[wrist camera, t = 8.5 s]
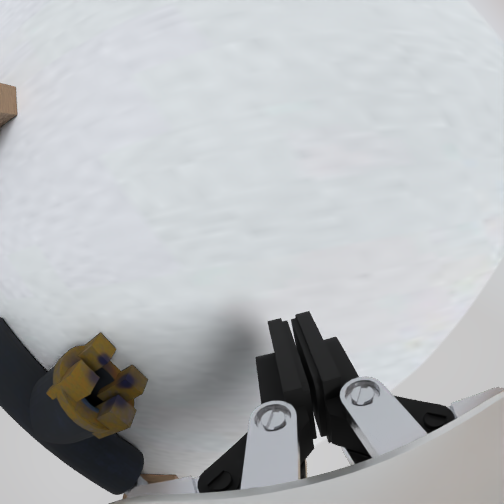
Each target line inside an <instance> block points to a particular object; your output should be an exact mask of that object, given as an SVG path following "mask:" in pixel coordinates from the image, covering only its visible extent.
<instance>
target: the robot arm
mask: <svg viewBox="0 0 504 504" xmlns="http://www.w3.org/2000/svg"><path fill="white" fill-rule="evenodd" d="M291 322H292V327H293V332H294V338H295V342H294V339H293V336H292V333H291V330H290V327H289V324H288V322H287V321H283V322H282V320H281V318H280V319H276V320H272V321H268V325H269V330H270V334H271V339H272V343H273V348H274V352H275V353H272V354H267V355H263V356H258V357H256V365H257V373H258V381H259V389H260V396H261V405H259V406H258V407H257V408H256V409H254V411H253V412H252V413H251V416H250V419H249V426H248V432H247V433H246V434H245V435H244V436H243V437H242V438H241V439H240V440H239V441H238V442H237V443H236V444H235V445H233V446H232V447H231V448H230V449H229V450H228V451H227V452H226V453H225V454H224V455H222V456H221V457H220V458H219V459H218V460H217V461H216V462H214V463H213V464H212V465H211V466H210V467H209V468H207V469H206V470H205V471H204V472H203V473H202V474H201V475H200V476H199V477H195V478H192V476H188V477H184V478H179V479H174V480H169V481H164V482H159V483H153V484H146V485H141V486H137V487H135V488H134V489H132V490H131V491H130V492H129V494H128V495H127V499H122V500H119V501H115V502H112V503H109V504H504V388H499V387H497V388H492V389H490V390H487V391H484V392H482V393H479V394H476V395H474V396H471V397H468V398H465V399H462V400H459V401H456V402H453V403H451V406H449V407H446V406H442V405H439V404H433V403H428V402H422V401H417V400H412V399H407V398H402V397H397V396H393V395H392V394H391V392H390V391H389V390H388V389H387V388H386V387H385V386H384V385H383V384H382V383H381V382H380V381H379V380H377V379H375V378H372V377H359V376H358V374H357V373H356V371H355V369H354V367H353V365H352V364H351V362H350V360H349V358H348V356H347V355H346V353H345V351H344V349H343V347H342V346H341V344H340V342H339V340H338V339H337V337H333V338H330V339H326V340H323V338H322V336H321V334H320V332H319V330H318V328H317V326H316V324H315V322H314V320H313V318H312V316H311V314H310V312H309V311H308V312H304V313H300V314H296V318H295V319H291ZM295 343H296V345H295ZM313 413H314V415H313ZM314 416H315V419H316V422H317V425H318V429H319V432H320V435H321V437H323V436H327V439H328V442H329V443H330V442H332V443H333V444H335V445H338V446H341V447H342V451H343V453H344V454H345V456H346V458H347V459H348V461H349V463H350V464H351V466H348V467H345V468H342V469H339V470H335V471H332V472H328V473H324V474H321V475H317V476H313V477H309V478H307V462H306V458H307V456H308V455H309V454H310V453H311V451H312V450H313V449H314V445H313V439H316V438H317V436H316V429H315V422H314Z"/></svg>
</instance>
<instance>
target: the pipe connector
mask: <svg viewBox="0 0 504 504" xmlns="http://www.w3.org/2000/svg"><path fill="white" fill-rule="evenodd" d="M115 351H116V348H115V347H114V346H113V345H112V344H111V343H110V342H109V341H108V340H107V339H106V338H105V337H104V336H103V335H102V333H99V334H98V335H97V336H96V337H94V338H93V339H92V340H91V341H90V342H88V343H87V344H86V345H85V346H76V347H74V348H72V349H70V350H69V351H68V352H66V353H65V354H64V355H63V356H62V357H61V358H60V359H59V360H58V362H57V363H56V365H55V366H54V367H53V368H52V369H51V370H50V371H48V372H46V371H45V370H44V369H43V368H42V367H41V366H40V365H39V363H38V362H37V361H36V360H35V359H34V358H33V357H32V356H31V354H30V353H29V352H28V351H27V350H26V349H25V347H24V346H23V345H22V344H21V343H20V341H19V340H18V339H17V338H16V336H15V335H14V334H13V333H12V331H11V330H10V329H9V327H8V326H7V325H6V323H5V322H4V321H3V319H2V318H1V317H0V406H1V407H2V408H3V409H4V410H5V411H6V412H7V413H8V414H9V415H10V416H11V417H12V418H13V419H14V420H15V421H16V422H17V423H18V424H19V425H20V426H21V427H22V428H23V429H25V430H26V431H27V432H28V433H29V434H30V435H31V436H32V437H33V438H35V439H36V440H37V441H38V442H39V443H40V444H42V445H43V446H44V447H45V448H46V449H48V450H49V451H50V452H52V453H53V454H54V455H55V456H57V457H58V458H59V459H60V460H62V461H63V462H64V463H66V464H67V465H69V466H70V467H72V468H73V469H74V470H76V471H77V472H79V473H80V474H82V475H83V476H85V477H86V478H88V479H89V480H91V481H92V482H94V483H95V484H97V485H99V486H100V487H102V488H104V489H105V490H107V491H109V492H110V493H112V494H115V495H119V494H122V493H125V492H126V491H128V490H129V489H130V488H131V487H132V486H133V485H134V484H135V483H136V481H137V480H138V478H139V476H140V474H141V472H142V469H143V464H144V458H143V454H142V453H141V452H140V451H139V450H138V449H136V448H135V447H133V446H132V445H130V444H129V443H128V442H126V441H125V440H123V439H122V438H121V437H119V436H118V435H117V434H115V433H117V432H120V431H122V430H125V429H127V428H130V426H131V424H132V421H133V418H134V415H135V413H136V409H135V408H134V398H136V397H137V396H139V395H141V394H143V391H144V389H145V386H146V383H147V381H148V379H147V378H146V377H145V376H144V375H143V374H142V373H141V372H139V371H138V370H137V369H136V368H135V367H134V366H133V365H131V366H130V367H128V368H126V369H125V370H123V371H122V372H121V371H120V370H119V369H118V368H117V367H116V366H115V365H114V364H113V363H112V362H111V361H110V359H111V357H112V356H113V354H114V352H115Z"/></svg>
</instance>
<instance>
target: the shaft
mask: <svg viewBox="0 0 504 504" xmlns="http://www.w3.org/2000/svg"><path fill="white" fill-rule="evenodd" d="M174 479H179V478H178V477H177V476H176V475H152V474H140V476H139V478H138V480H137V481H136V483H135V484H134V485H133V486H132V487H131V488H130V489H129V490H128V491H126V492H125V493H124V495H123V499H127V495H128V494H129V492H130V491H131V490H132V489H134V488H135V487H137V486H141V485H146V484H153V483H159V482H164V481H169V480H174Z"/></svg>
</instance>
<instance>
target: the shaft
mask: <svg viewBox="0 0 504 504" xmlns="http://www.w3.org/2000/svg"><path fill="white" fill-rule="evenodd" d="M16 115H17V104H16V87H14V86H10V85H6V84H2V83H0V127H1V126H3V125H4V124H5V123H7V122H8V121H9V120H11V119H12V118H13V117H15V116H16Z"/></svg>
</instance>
